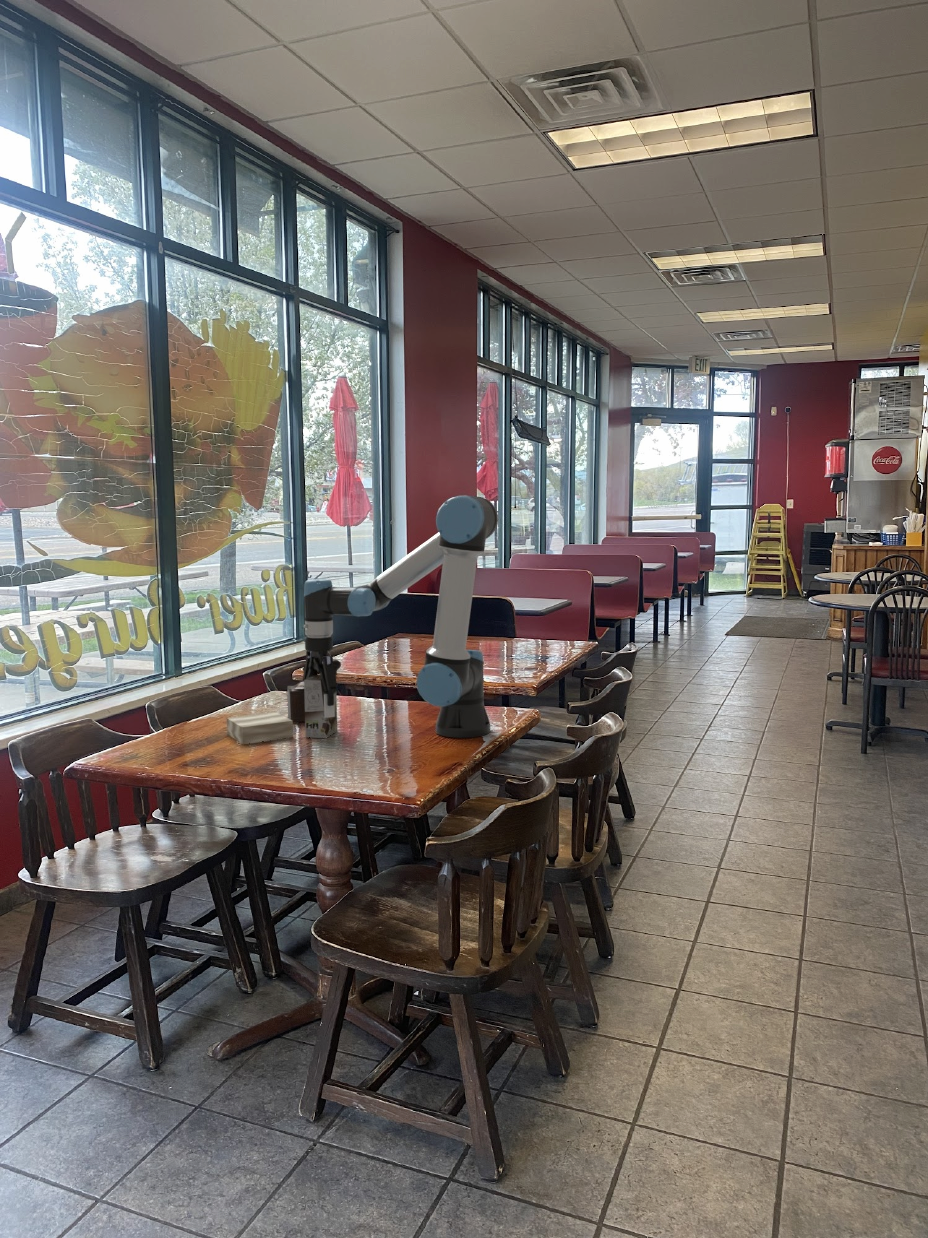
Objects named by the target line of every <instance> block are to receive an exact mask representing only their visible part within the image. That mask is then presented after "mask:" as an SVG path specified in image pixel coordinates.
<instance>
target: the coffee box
mask: <svg viewBox="0 0 928 1238" xmlns="http://www.w3.org/2000/svg"><path fill="white" fill-rule="evenodd" d="M335 676H336V677H337V675H335ZM324 691H325V689H324V686H323V683H322V679H321V676H320V674H317V675H314V676H312V677H309V678H307V679H305V680H304V695H305V722H304V726H305V727H304V729H305V738H309V737H310V738H315V739H327V737H328V738H329V737H330V735H331V736H332V735H333V733H334V734H335V733H337V732H338V702H337V700H338V699H337V692H335V693H334V700H335V717H329V718H324V694H323V692H324Z"/></svg>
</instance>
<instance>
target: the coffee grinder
mask: <svg viewBox="0 0 928 1238" xmlns="http://www.w3.org/2000/svg"><path fill="white" fill-rule="evenodd" d="M333 666H334V671H335V675H336V676H337V675H338V670H339V669H341V667H342V663H341V661H340V660H338V659H336V658H333ZM302 667H303V668H302V671H303V672H304V668H305V663H303V664H302ZM317 675H320V673H318V674H317ZM306 677H307V676H306ZM288 717H289V718H288ZM287 718H288V719H290V720H292V721H293V722H299V723H305V695H304V681H303V680H302V681H299V682H298V683H296V684H294V685H287Z"/></svg>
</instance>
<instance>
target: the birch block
mask: <svg viewBox="0 0 928 1238" xmlns="http://www.w3.org/2000/svg"><path fill="white" fill-rule="evenodd" d="M293 724H294V723H293V721H292V720H290V719H289V718H288V717H287V716H284V715H283V714H280V713H279V712H276V711H272V712H265V713H264V712H263V713H255V714H248V715H239V716H232V717H226V729H227V730H226V731H227V732H226V734H227V735H228V736H229V737H231V738H232V739H233V740H235V741H237V742H238V743H239V744H241V745H248V744H249V743H250V744H256V743H257V744H258V743H263V742H262V741H264V742H271V741H276V740H277V739H278V740H282V739H281V738H286V739H289V738H288V737H293V738H294V727H293V726H294V725H293ZM270 740H271V741H270Z"/></svg>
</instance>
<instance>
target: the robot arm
mask: <svg viewBox="0 0 928 1238" xmlns="http://www.w3.org/2000/svg"><path fill="white" fill-rule="evenodd" d="M435 524H436V529H437V531H438V532H437V533H436V534H433V536H432V537H430V538H429V539H428V540H426V541H425V542H423V543H422V544H421V545H419V546H418V547H416V548H415V549H413V550H412V551H411V552H410V553H408V554H407V555H406V556H404V557H402V558H401V559H399V561H397V562H396V563H394V564H393V565H391V566H390V567H389V568H387V569H386V570H385V571H383V572H382V573H381V574H379V575H378V576H377V577H375V578H374V579H372V580H370V582H368V583H367V584H364V585H359V586H352V587H336V586H333V583H332V580H331V579H329V578H328V579H326V578H325V579H324V578H315V579H313V578H312V579H307V580H306V581H305V582H304V585H303V586H304V587H303V589H304V591H303V600H304V601H303V603H304V606H303V607H304V624H303V626H302V628H304V634H305V638H304V648H305V652H306V654H305V663H304V664H305V668H304V667H303V668H304V671H303V675H302V681H304V680H305V679H307V678H309V677H312V676H314V675H320V676H321V679H322V683H323V686H324V689H325V691H324V692H323V694H324V718H329V717H335V700H334V693H335V692H336V693H338V692H339V688H338V687H339V686H338V683H337V675H336V676H335V671H334V666H333V659H334V657H333V656H332V655H330V656H328V652H330V651H332V650H333V649H334V639H333V636H332V635H333V634H334V621H333V616H350V617H368V616H371V615H372V614H373V613H374V612H377V611H380V610H383V609H384V608H386V607H388V605H389V604H390V602H391V601H392V600H393V599H394V598H396V597H397V596H398V595H400V594H401V593H403V592H405V591H406V590H407V589H409V588H411V586H413V585H414V584H416V583H417V582H419V581H420V580H421V579H423V578H424V577H426V576H427V575H429V574H431V572H433V571H434V570H435V569H437V568H439V567H442V568H441V577H440V585H439V591H438V601H437V606H436V608H437V610H436V616H435V617H436V618H435V623H434V624H435V625H434V633H433V640H432V641H433V643H432V645H431V646H430V647H429V648H427V649H426V651H425V658H424V664H423V667H421V668H420V670H419V672H418V674H417V676H416V688H417V692H418V693H419V695H420V696H421V699H423V700H424V701H425V702H426V703H428V704H429V705H432V706H434V707H438V708H439V707H440V710H439V713H438V716H437V719H436V722H435V734H437V735H439V736H441V737H447V738H459V739H462V738H463V739H465V738H466V739H468V738H477V737H482V736H485V735H488V734H490V732H491V722H490V719H489V716H488V713H487V709H486V707H485V702H484V701H485V700H484V691H485V690H484V688H485V687H484V685H485V684H484V665H485V662H484V661H485V660H484V654H483V652H482V651H481V650H478V649H467V648H466V647H467V641H468V634H469V626H470V619H471V612H472V611H471V609H472V602H473V595H474V587H475V586H474V585H475V579H476V578H475V577H476V572H477V562H478V558H479V557H480V556H481V555H482V554H484V553H485V548H486V540H487V539H488V538H490V537H491V536H492V535H493V534H494V532H495V531H496V530H497V527H498V525H499V514H498V511H497V508H496V507H495V505H494V504H493V502H491V501H490V500H489V499H487V498H485V497H482V496H476V495H475V496H470V495H462V494H461V495H456V496H454V497H451V498H448V499H446V501H444V502H443V504H442V505H441V506H440V507H439V508H438V510H437V513H436V517H435ZM318 673H320V674H318ZM306 676H307V677H306Z"/></svg>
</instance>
